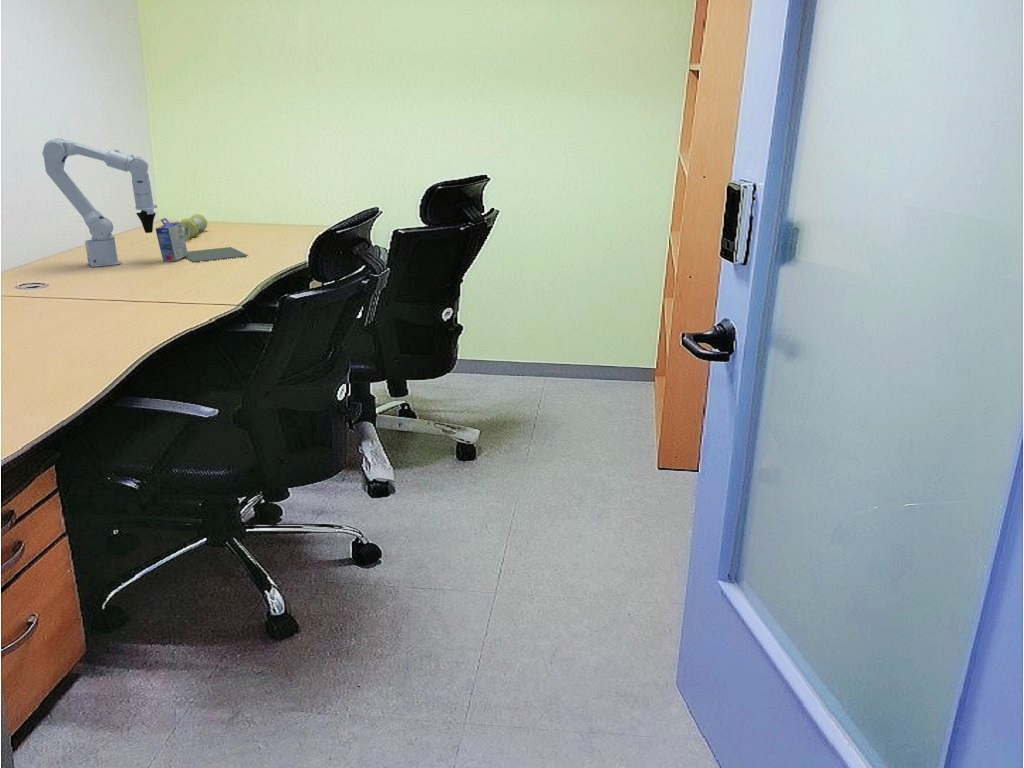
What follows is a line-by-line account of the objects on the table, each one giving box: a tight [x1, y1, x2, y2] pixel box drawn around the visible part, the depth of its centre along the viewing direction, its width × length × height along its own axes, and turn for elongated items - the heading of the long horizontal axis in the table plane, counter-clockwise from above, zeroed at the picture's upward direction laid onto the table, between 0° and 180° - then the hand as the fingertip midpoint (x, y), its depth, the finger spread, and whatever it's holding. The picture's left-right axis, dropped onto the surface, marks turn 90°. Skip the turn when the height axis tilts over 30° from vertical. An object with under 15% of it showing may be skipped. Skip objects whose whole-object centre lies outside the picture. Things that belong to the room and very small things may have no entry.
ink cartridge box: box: [155, 217, 188, 262], centre depth 299 cm, size 10×6×14 cm, turn 174°
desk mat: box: [184, 246, 249, 263], centre depth 309 cm, size 20×20×1 cm
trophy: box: [174, 214, 208, 243], centre depth 345 cm, size 8×8×30 cm
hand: (148, 232), depth 294 cm, fingers closed
